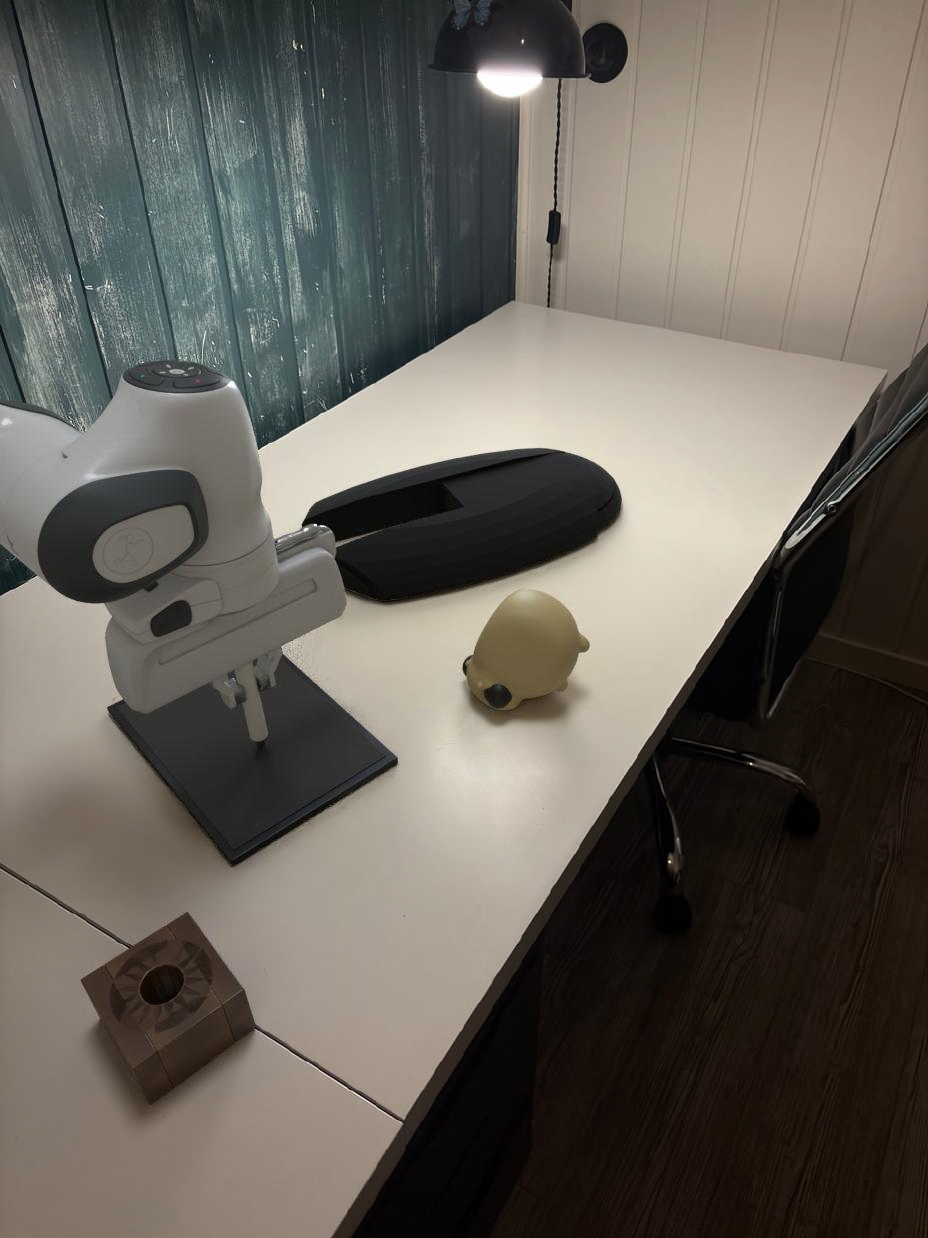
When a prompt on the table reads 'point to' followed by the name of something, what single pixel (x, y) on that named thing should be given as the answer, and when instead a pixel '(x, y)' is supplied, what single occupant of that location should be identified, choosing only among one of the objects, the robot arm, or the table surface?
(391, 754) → the tablet
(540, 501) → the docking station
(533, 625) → the toy pig
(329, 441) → the table surface
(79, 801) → the table surface
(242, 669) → the stylus
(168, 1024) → the pen block
